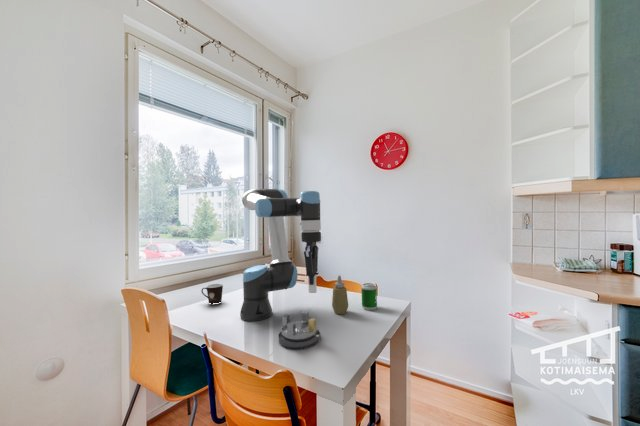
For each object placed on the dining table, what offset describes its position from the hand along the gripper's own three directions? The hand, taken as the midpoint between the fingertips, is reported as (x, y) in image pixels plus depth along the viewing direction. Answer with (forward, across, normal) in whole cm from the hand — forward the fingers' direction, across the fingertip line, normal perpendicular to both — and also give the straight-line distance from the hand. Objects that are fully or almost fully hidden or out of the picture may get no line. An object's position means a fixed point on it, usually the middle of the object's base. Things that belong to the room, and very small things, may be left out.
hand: (312, 292), depth 101 cm
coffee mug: (+19, -33, -67) cm, 77 cm away
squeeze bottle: (+19, -29, +6) cm, 35 cm away
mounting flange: (+18, 0, -6) cm, 19 cm away
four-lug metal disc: (+16, 0, -6) cm, 17 cm away
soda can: (+19, -37, +20) cm, 46 cm away
